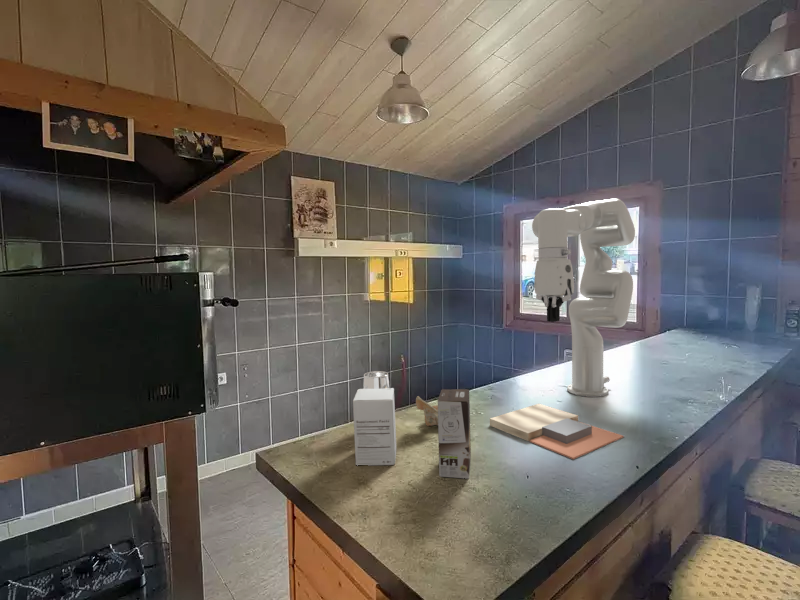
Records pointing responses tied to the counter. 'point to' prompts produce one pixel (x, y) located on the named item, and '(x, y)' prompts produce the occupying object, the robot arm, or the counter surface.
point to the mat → (578, 443)
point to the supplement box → (374, 426)
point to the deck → (529, 420)
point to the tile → (566, 430)
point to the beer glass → (376, 380)
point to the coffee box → (454, 433)
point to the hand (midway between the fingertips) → (553, 321)
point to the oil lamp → (428, 411)
